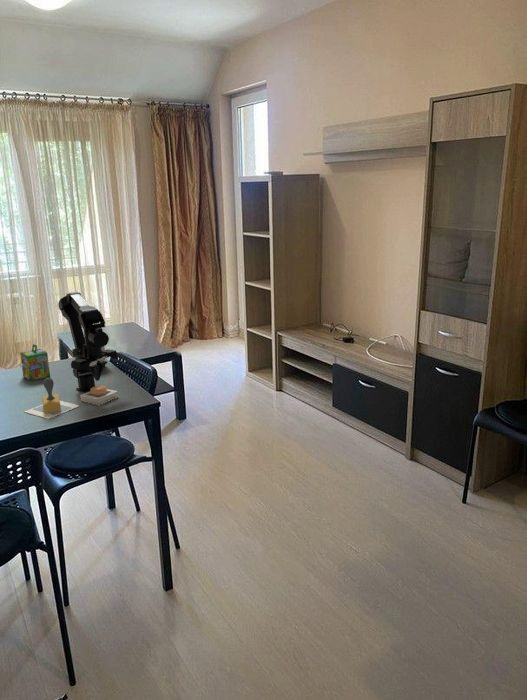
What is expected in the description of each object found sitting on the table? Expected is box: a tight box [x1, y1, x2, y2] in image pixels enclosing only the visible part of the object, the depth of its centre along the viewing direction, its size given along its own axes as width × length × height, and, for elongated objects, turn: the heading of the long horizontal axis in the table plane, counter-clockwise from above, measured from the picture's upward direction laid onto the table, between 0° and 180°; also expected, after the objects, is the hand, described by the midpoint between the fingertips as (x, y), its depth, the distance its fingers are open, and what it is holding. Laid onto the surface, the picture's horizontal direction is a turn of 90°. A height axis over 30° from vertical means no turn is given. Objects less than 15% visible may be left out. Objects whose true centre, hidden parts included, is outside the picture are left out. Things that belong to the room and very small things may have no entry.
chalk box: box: [19, 343, 51, 382], centre depth 239 cm, size 9×9×15 cm
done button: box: [91, 385, 108, 397], centre depth 210 cm, size 6×6×2 cm
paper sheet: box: [23, 400, 80, 420], centre depth 202 cm, size 14×14×1 cm
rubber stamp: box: [42, 377, 61, 414], centre depth 201 cm, size 10×6×12 cm, turn 22°
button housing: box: [79, 388, 119, 406], centre depth 211 cm, size 10×10×2 cm
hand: (97, 380), depth 209 cm, fingers closed
